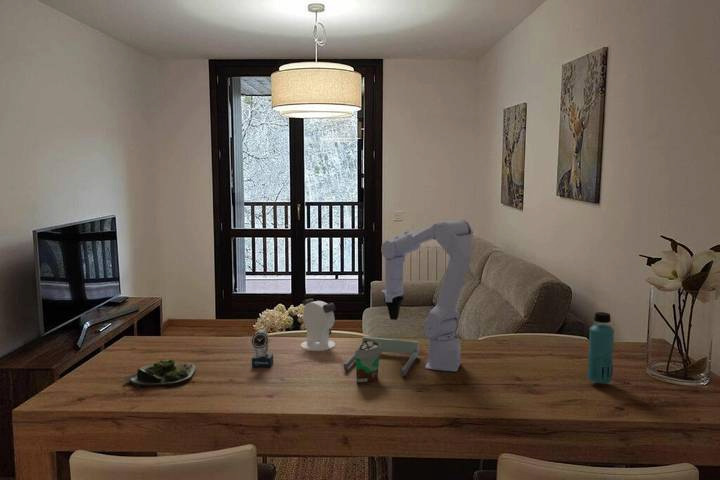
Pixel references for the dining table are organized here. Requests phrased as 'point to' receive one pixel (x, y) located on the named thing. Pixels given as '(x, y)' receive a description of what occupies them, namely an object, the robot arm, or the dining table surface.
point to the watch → (261, 350)
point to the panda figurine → (318, 325)
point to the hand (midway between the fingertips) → (393, 319)
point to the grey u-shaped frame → (393, 351)
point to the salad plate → (162, 374)
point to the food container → (367, 361)
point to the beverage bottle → (601, 350)
